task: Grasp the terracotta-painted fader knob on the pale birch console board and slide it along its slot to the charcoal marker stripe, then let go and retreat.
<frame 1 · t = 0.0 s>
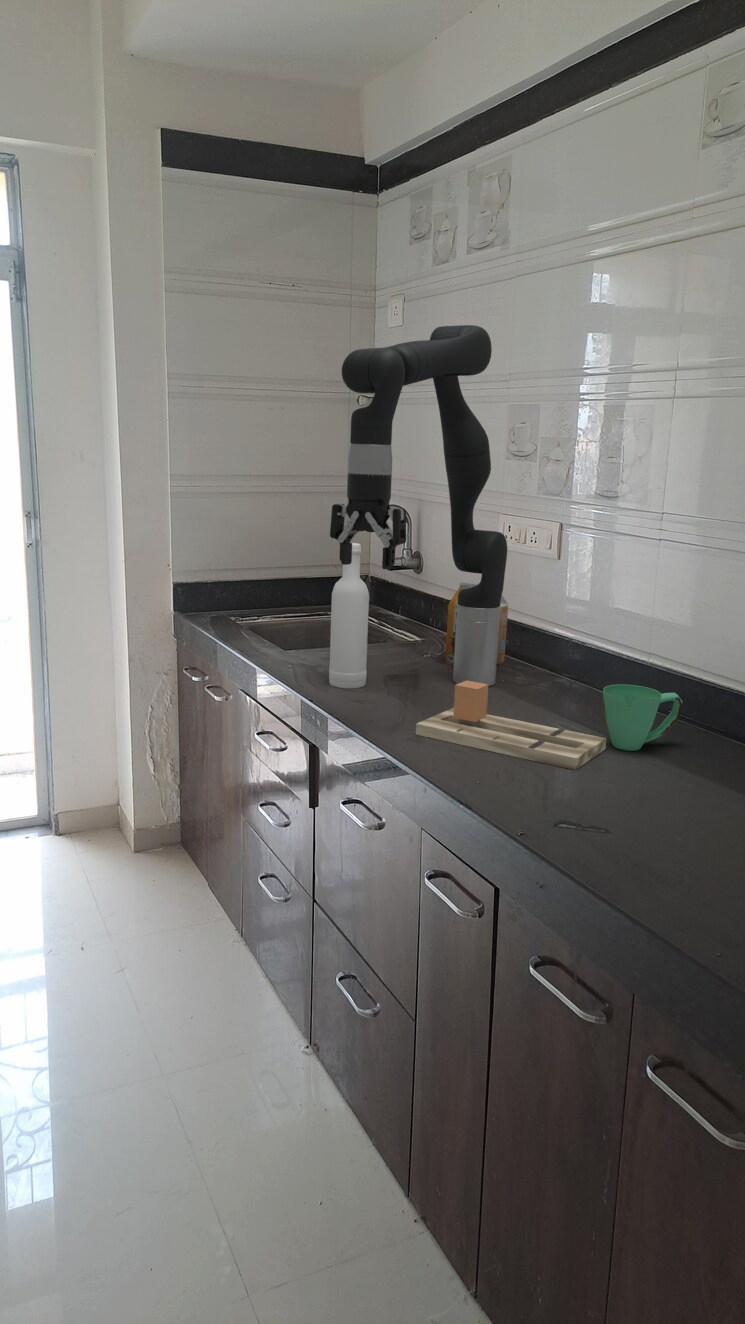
hand: (366, 566, 166), 29 cm above the counter, fingers open, 8 cm apart
fader knob: (470, 708, 170), point 5 cm above the counter, slide at -8.0 cm
milk carton: (474, 663, 229), on the counter
console board: (509, 741, 167), on the counter
mug: (638, 746, 168), on the counter
bottle: (347, 685, 203), on the counter
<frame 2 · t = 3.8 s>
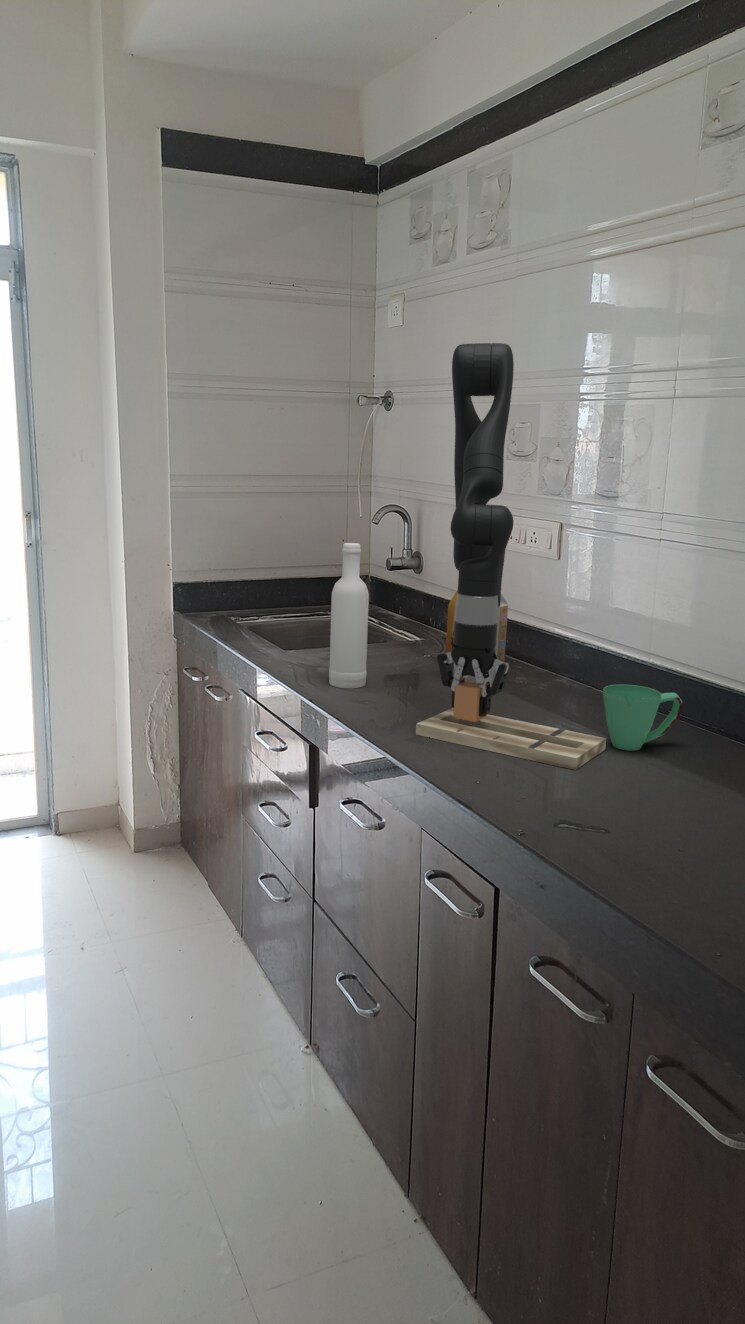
hand: (470, 712, 171), 4 cm above the counter, fingers closed on fader knob, 4 cm apart
fader knob: (470, 708, 170), point 5 cm above the counter, slide at -8.0 cm, touching gripper
everything else where it was.
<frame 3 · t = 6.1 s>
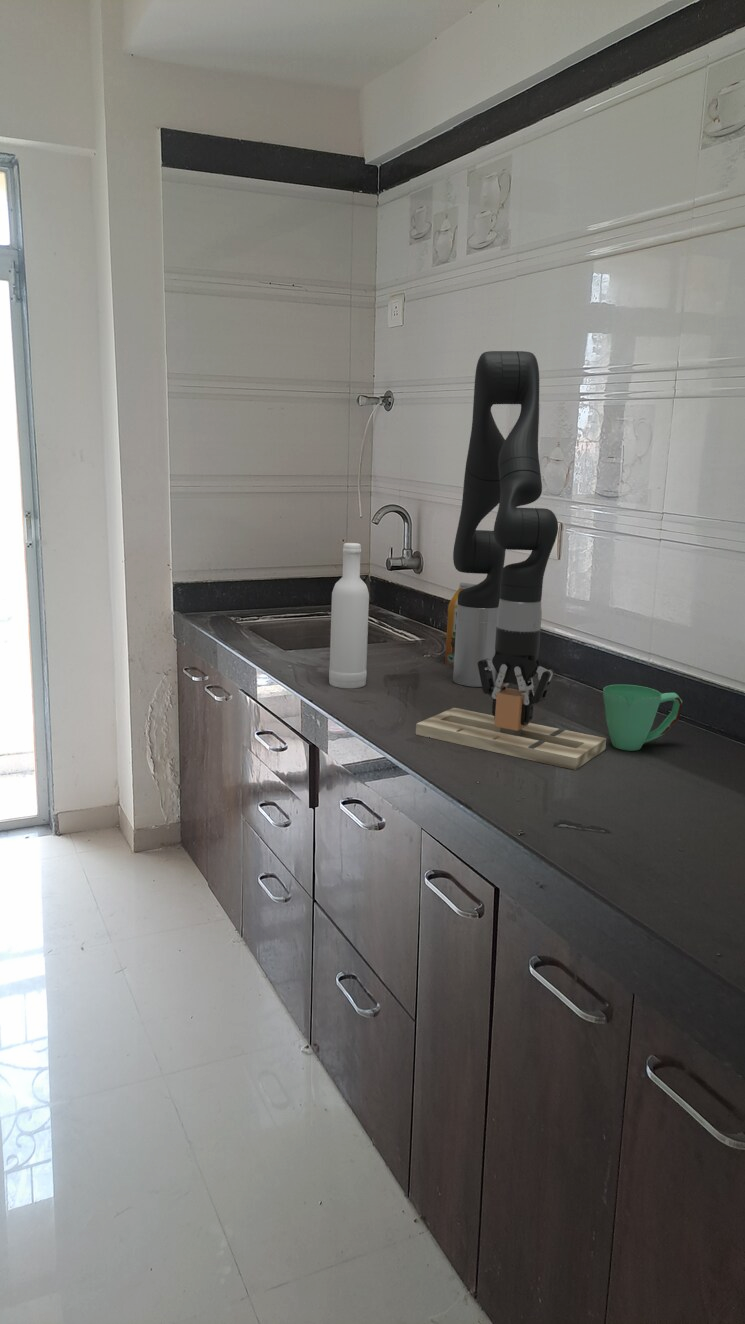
hand: (511, 721, 166), 4 cm above the counter, fingers closed on fader knob, 4 cm apart
fader knob: (511, 716, 166), point 5 cm above the counter, slide at 0.2 cm, touching gripper
everything else where it was.
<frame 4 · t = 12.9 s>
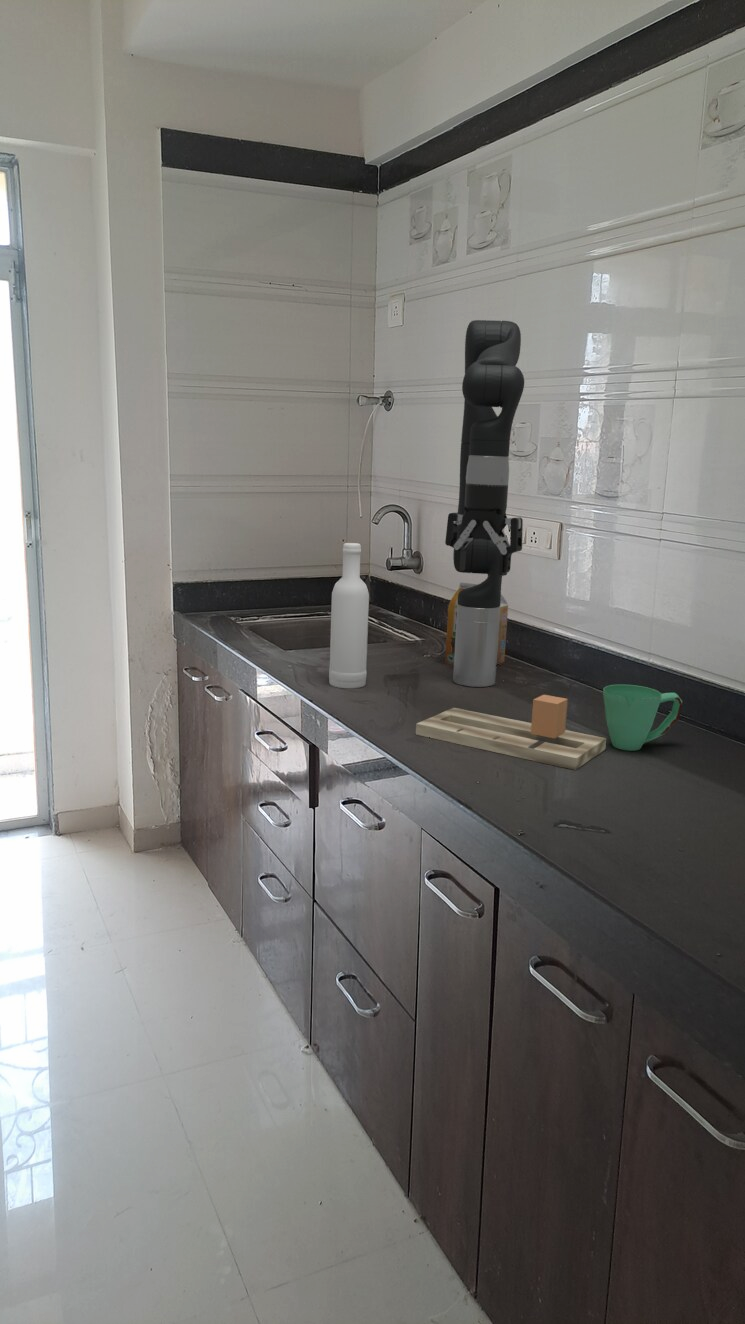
hand: (481, 572, 173), 28 cm above the counter, fingers open, 8 cm apart
fader knob: (548, 723, 162), point 5 cm above the counter, slide at 7.0 cm
everything else where it was.
at the end: fader knob slide at 7.0 cm; the gripper is holding nothing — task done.
